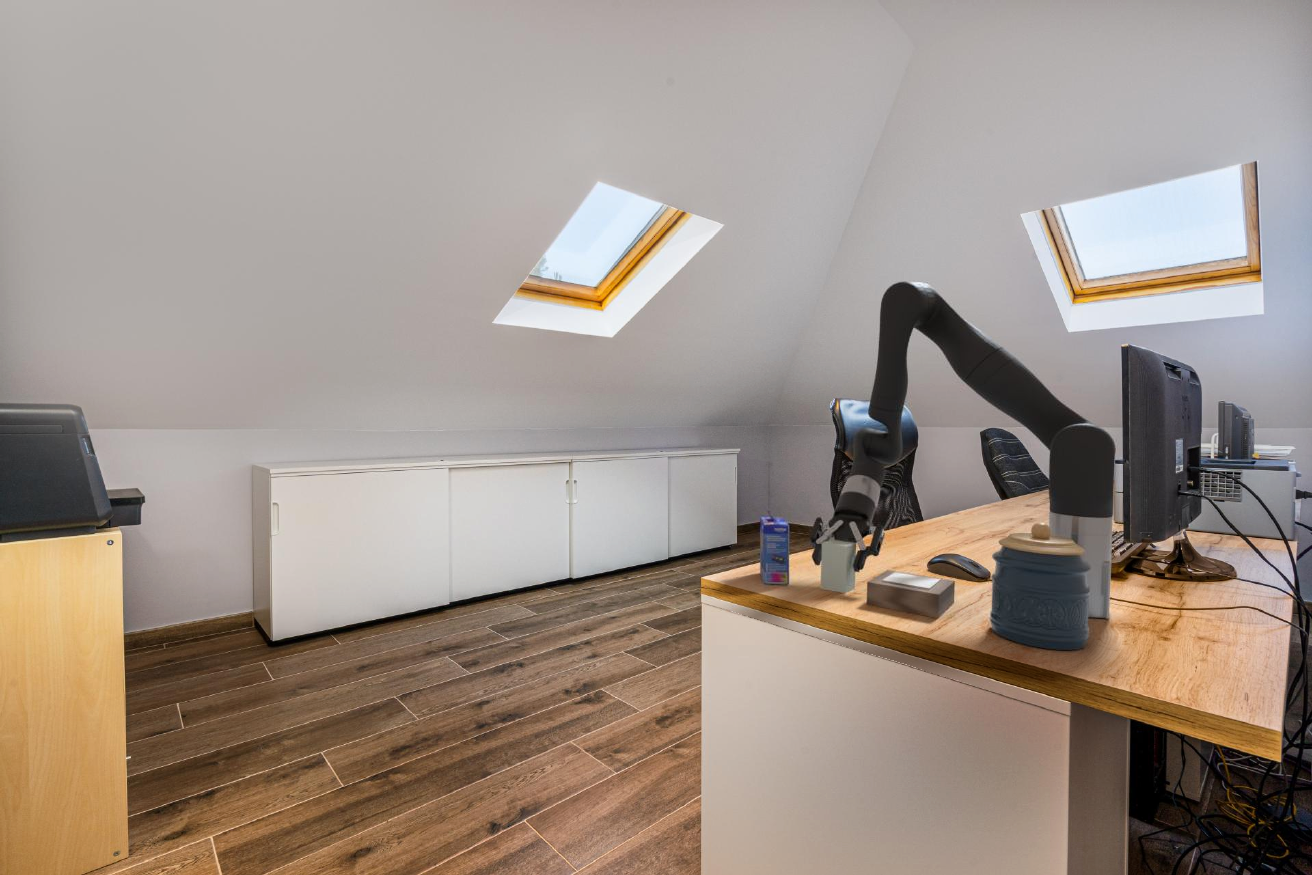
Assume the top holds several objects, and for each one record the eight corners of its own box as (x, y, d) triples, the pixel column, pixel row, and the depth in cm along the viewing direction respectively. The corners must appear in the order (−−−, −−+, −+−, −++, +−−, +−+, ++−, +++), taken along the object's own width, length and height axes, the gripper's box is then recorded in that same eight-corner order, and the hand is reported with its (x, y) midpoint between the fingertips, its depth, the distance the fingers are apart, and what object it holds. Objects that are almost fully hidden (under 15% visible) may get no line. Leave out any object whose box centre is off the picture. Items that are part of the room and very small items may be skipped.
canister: (980, 636, 93) (984, 522, 92) (998, 617, 102) (1002, 513, 102) (1084, 659, 84) (1089, 533, 84) (1092, 635, 94) (1097, 523, 94)
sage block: (854, 588, 119) (856, 542, 119) (845, 593, 115) (847, 546, 115) (830, 583, 122) (831, 539, 122) (820, 588, 118) (821, 542, 118)
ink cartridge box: (758, 572, 130) (759, 505, 130) (784, 573, 130) (785, 506, 130) (761, 584, 121) (763, 512, 120) (789, 585, 120) (791, 513, 120)
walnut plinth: (954, 602, 111) (954, 579, 110) (938, 618, 101) (939, 592, 101) (887, 590, 118) (887, 568, 118) (866, 603, 108) (867, 580, 108)
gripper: (820, 487, 129) (795, 549, 120) (889, 493, 120) (868, 560, 111) (829, 509, 133) (806, 571, 124) (896, 516, 124) (876, 583, 115)
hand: (835, 566), depth 118 cm, fingers open, 7 cm apart
